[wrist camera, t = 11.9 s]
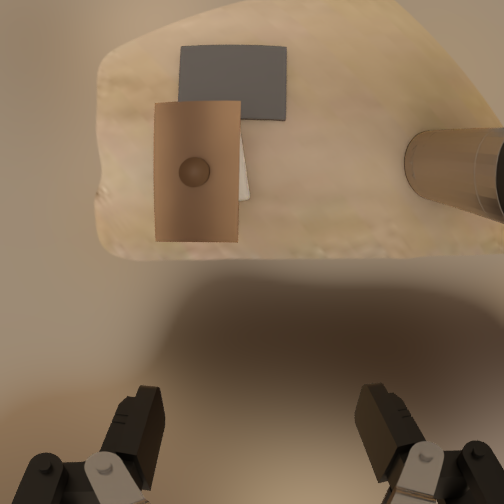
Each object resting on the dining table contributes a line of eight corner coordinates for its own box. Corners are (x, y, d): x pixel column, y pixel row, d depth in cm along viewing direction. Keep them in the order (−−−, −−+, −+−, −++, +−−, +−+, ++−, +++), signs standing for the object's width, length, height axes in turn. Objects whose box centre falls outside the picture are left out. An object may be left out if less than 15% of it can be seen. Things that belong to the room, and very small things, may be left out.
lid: (240, 107, 23) (240, 98, 20) (238, 232, 26) (237, 246, 22) (164, 108, 23) (151, 100, 19) (164, 232, 26) (152, 245, 22)
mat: (285, 49, 32) (286, 46, 31) (284, 120, 35) (285, 119, 34) (182, 49, 32) (181, 46, 31) (179, 120, 34) (177, 119, 33)
